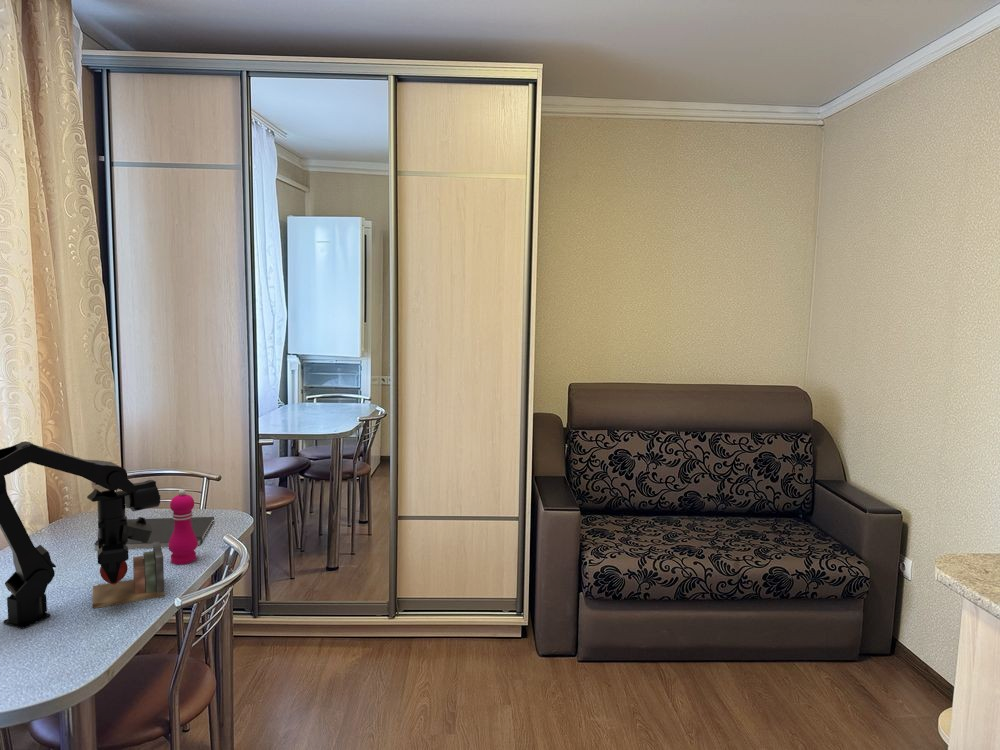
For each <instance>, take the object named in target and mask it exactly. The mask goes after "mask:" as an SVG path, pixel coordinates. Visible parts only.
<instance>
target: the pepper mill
mask: <svg viewBox="0 0 1000 750" xmlns="http://www.w3.org/2000/svg"><path fill="white" fill-rule="evenodd" d="M194 507H195V500H194V498H193V497H192V496H191V495H189V494H187V493H186V489H182V488H181V489H179V490H178V495H175V496H174V497H173V498H172V499H171V500H170V503H169V508H170V510H171V511H172V515H171V516H172V517H171V518H173V519H174V523H175V524H174V531H173V533H172V536H171V538H170V541H169V548H168V550H169V552H171V554H170V561H171V562H170V563H172V564H173V563H174V564H173V565H187V564H190V563H193V562H194V561H196V559H197V552H196V551H195V550H196V549H197V548H198V546H197V545H198V543H197V538H196V535H195V533H194V532H193V529H192V526H191V518H192V517H194V516H193V514H194V513H193V511H192V510H193V509H194Z"/></svg>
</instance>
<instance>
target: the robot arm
mask: <svg viewBox="0 0 1000 750" xmlns="http://www.w3.org/2000/svg"><path fill="white" fill-rule="evenodd" d="M29 463H32V464H35V465H38V466H43V467H46V468H49V469H53V470H57V471H60V472H64V473H68V474H71V475H74V476H78V477H82V478H84V479H86V480H88V481H90V482H92V483H94V484H96V485H98V486H99V487H102V488H103V489H106V490H102V491H101V490H99V489H98V488H94V489H93V491H92V492H91V493H89V494H88V495H87V496H86V499H88V500H90V501H91V502H93V503H95V502H97V529H98V531H97V540H98V542H99V544H98V547H99V550H97V565H100V567H101V566H102V568H103V570H104V571H105V573H106V575H107V576H108V578H109V580H110V582H111V583H116V582H117V578H118V573H119V568H120V564H121V562H123V561H125V562H126V561H128V560H129V549H128V547H127V546H126V542H128V539H131V540H136V541H141V542H143V543H148V541H149V538H150V535H151V533H152V526H151V525H150V524H146V520H145V519H146V518H145V517H141V516H139V517H137V518H135V519H136V520H135V521H132V522H129V521H127V519H128V518H127V515H126V508H127V509H130V510H131V511H132V512H137V511H141V510H146V509H153V508H157V507H159V506H160V504H161V494H160V492H159V489H158V487H157V481H155V480H153V479H148V480H145V481H141V482H140V481H139V482H136V483H133V482H132V481H130V479H129V478H128V473H127V470H126V469H125V468H124V467H122V466H121V465H118V464H116V463H114V462H112V461H106V460H99V459H98V460H97V459H84V458H80V457H77V456H74V455H72V454H71V455H70V454H67V453H63V452H61V451H56V450H54V449H50V448H47V447H44V446H40V445H38V444H37V445H36V444H34V443H33V442H30V441H27V440H26V441H20V442H18V443H17V444H14V445H11V446H8V447H7V446H6V447H4V448H1V449H0V530H1V533H2V535H3V537H4V538H5V540H6V543H7V544H8V546H9V548H10V549H11V550H10V551H11V552H12V558H13V559H12V560H13V561H12V562H13V567H14V570H15V572H14V573H12V574H11V576H10V577H8V579H7V580H6V581H5V582H4V586H5V587H6V589H7V590H8V592H10V593H11V594H10V596H8V597H7V598H6V603H7V604H6V605H7V618H6V619H4V620H3V624H5V625H10V626H12V627H16V628H19V629H25V628H28V627H29V626H31V625H34V624H37V623H39V622H41V621H43V620H45V619H47V618H50V617H51V613H48V612H47V611H48V606H47V604H48V603H47V601H48V600H47V594H45V593H46V590H47V588H48V585H49V584H51V582H52V581H53V580H54V577H55V575H56V574H55V573H56V572H55V569H54V568H56V567H57V566H56V564H55V563H53V562H52V558H51V555H50V552H49V551H48V550H47V549H46V548H45V547H44V546H43V545H41V544H39V545H37V546H36V547H35V545H34V543H33V541H32V539H31V537H30V535H29V534H28V531H27V529H26V528H25V526H24V523H23V522H22V520H21V517H20V516H19V514H18V512H17V510H16V508H15V507H14V504H13V502H12V500H11V498H10V496H9V495H8V491H7V481H6V477H5V476H8V475H9V474H11V473H14V472H15V471H17V470H19V469H20V468H22V467H23V466H25V465H28V464H29ZM117 490H119V491H117Z"/></svg>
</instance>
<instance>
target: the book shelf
mask: <svg viewBox="0 0 1000 750" xmlns="http://www.w3.org/2000/svg"><path fill="white" fill-rule="evenodd" d="M132 565H133V568H132V571H133V578H132V579H128V580H120V581H119V582H117V583H116V584H111V583H108V582H107V583H104V584H103V583H102V584H96V585H92V609H97V608H103V607H109V606H115V605H121V604H125V603H126V604H128V603H131V602H139V601H143V600H144V599H145V600H150V599H155V598H156V599H157V598H161V597H160V596H162V597H165V573H164V572H165V569H164V555H163V548H161V544H160V542H153V548H152V551H144V552H142V555H138V556H133V557H132Z"/></svg>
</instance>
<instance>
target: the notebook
mask: <svg viewBox="0 0 1000 750" xmlns="http://www.w3.org/2000/svg"><path fill="white" fill-rule="evenodd" d="M136 519H137V518H132V519H131V518H130V519H128V518H127V521H129V522H132V521H135V520H136ZM145 520H146V524H150V525H151V526H152V533H151V535H150V538H149V541H148V543H143V542H141V541H136V540H131V539H128V542H126V546H127V547H128V550H137V549H138V548H146V549H153V542H160V544H161V547H169V541H170V538H171V536H172V533H173V531H174V524H175V523H174V519H173V518H172V517H163V518H161V517H160V518H145ZM213 520H214V521H215V516H192V518H191V526H192V529H193V532H194V533H195V535H196V538H197V543H198V545H199V546H200V545H201V544H203V540H204V538H205V537H206V535H207V533H208V532H207V531H209V530H210V528H211V527H210V525H211V524H212V525H213V523H214V522H213ZM212 522H213V523H212ZM212 525H211V526H212ZM209 527H210V528H209ZM208 529H209V530H208ZM206 532H207V533H206ZM205 534H206V535H205ZM204 536H205V537H204ZM93 544H94V547H95V548H94V549H96V550H95V551H98V550H99V547H98V544H99V542H98V539H97V540H96V541H95V542H94V543H93ZM198 545H197V547H198ZM135 548H137V549H135ZM138 550H139V549H138Z"/></svg>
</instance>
